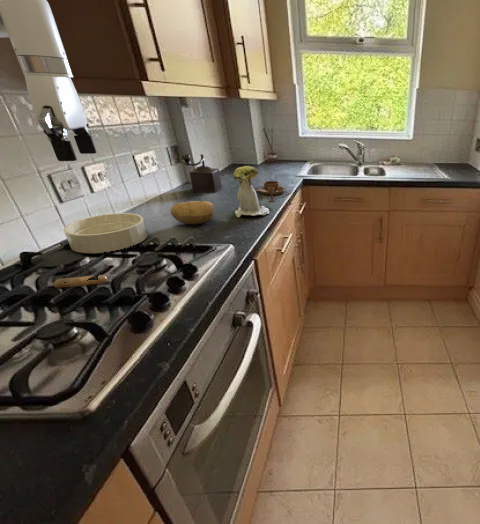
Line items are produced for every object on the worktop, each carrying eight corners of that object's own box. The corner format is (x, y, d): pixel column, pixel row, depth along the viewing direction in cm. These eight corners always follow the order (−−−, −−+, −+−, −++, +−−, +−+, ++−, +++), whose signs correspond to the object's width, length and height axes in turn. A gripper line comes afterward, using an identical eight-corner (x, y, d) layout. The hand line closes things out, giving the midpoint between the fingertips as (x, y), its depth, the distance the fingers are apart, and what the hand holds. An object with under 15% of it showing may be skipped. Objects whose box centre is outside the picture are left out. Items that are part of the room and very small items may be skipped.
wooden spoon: (54, 292, 77) (49, 282, 75) (60, 286, 79) (56, 277, 78) (121, 285, 80) (118, 276, 79) (125, 280, 83) (122, 271, 81)
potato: (177, 220, 121) (172, 198, 118) (218, 218, 125) (215, 197, 121) (170, 229, 113) (164, 207, 109) (214, 227, 116) (210, 205, 113)
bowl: (57, 257, 92) (48, 237, 89) (88, 232, 109) (82, 214, 106) (137, 251, 97) (131, 232, 94) (155, 228, 114) (150, 211, 111)
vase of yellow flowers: (268, 218, 127) (263, 169, 119) (233, 219, 124) (225, 169, 116) (269, 208, 137) (264, 163, 129) (236, 209, 134) (229, 163, 126)
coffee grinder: (199, 187, 164) (191, 149, 156) (222, 187, 165) (216, 149, 157) (186, 195, 150) (177, 154, 142) (212, 195, 151) (204, 154, 143)
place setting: (295, 191, 162) (294, 179, 160) (274, 202, 145) (273, 189, 142) (262, 188, 166) (261, 176, 163) (239, 198, 149) (237, 185, 146)
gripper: (47, 69, 72) (77, 151, 80) (-7, 64, 58) (35, 164, 65) (88, 71, 74) (113, 150, 82) (45, 66, 60) (80, 163, 67)
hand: (78, 156), depth 74 cm, fingers open, 9 cm apart
